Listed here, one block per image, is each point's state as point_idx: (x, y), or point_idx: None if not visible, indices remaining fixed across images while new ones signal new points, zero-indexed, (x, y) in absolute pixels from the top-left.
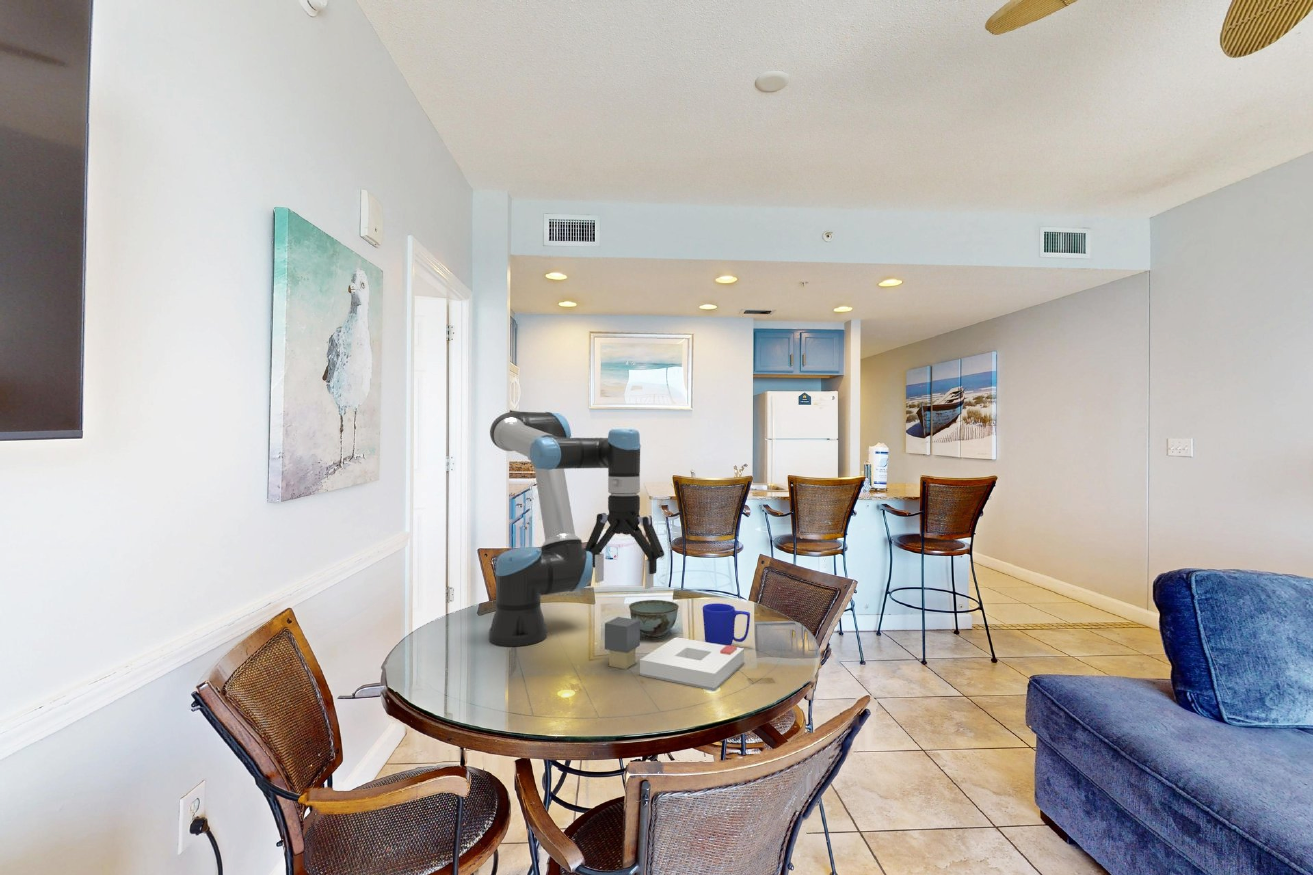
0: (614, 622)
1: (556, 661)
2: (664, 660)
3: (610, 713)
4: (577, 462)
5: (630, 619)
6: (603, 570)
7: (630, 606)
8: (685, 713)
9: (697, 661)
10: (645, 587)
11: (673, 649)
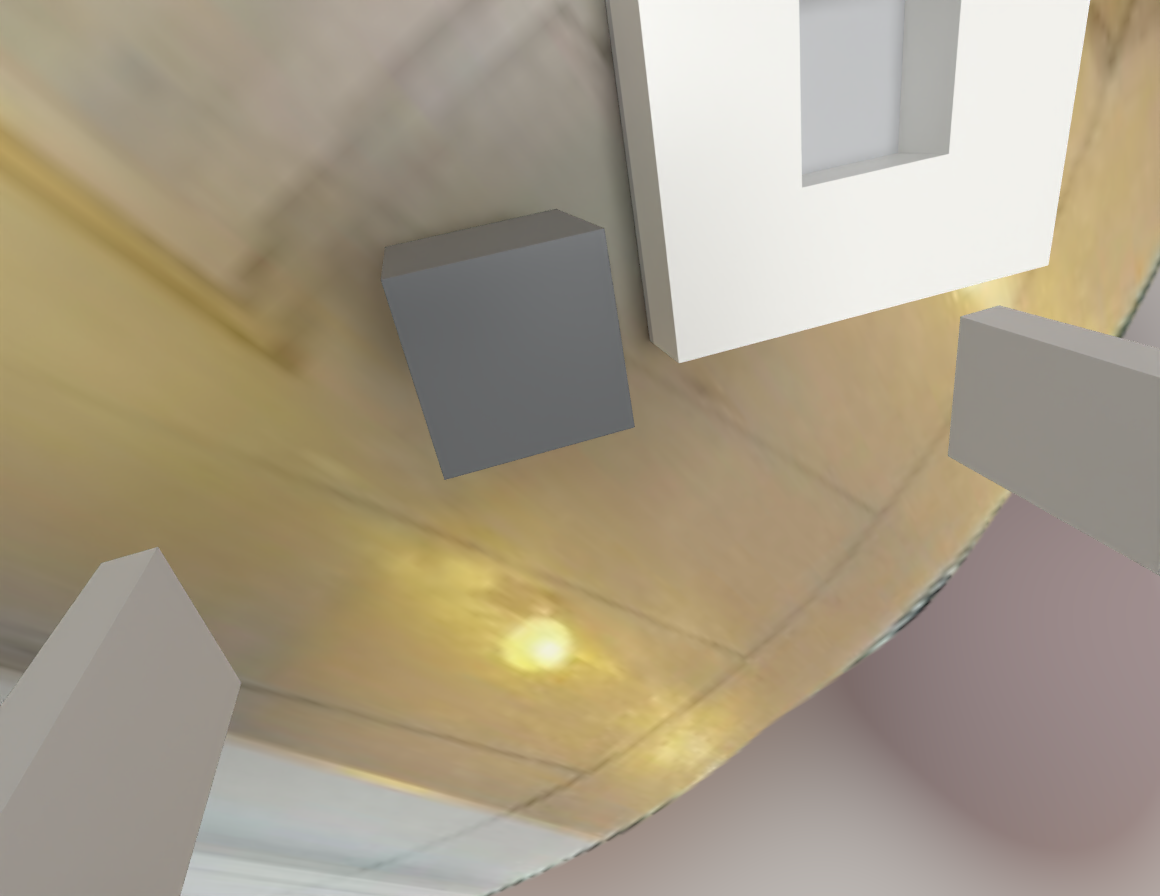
0: (488, 419)
1: (172, 502)
2: (788, 285)
3: (759, 624)
4: None
5: (527, 268)
6: (90, 679)
7: None
8: (950, 473)
9: (938, 178)
10: (965, 460)
11: (745, 86)
